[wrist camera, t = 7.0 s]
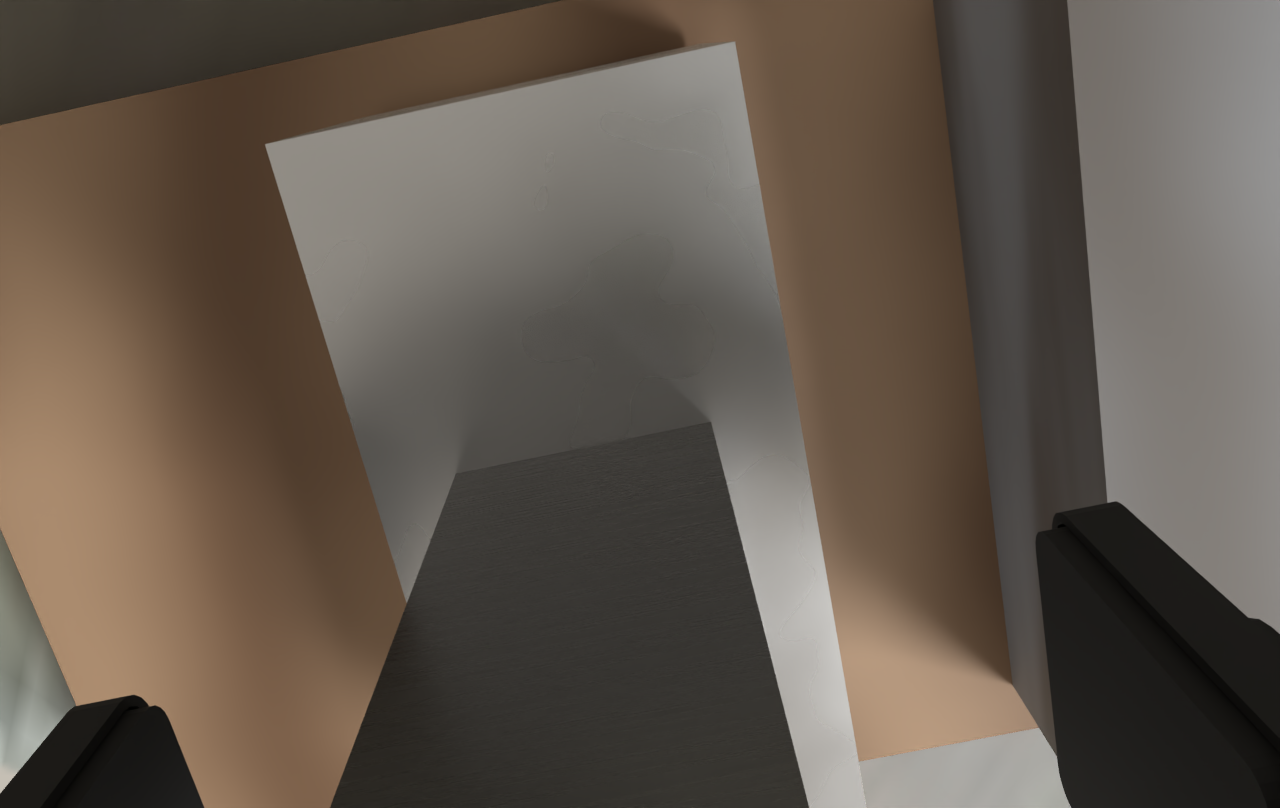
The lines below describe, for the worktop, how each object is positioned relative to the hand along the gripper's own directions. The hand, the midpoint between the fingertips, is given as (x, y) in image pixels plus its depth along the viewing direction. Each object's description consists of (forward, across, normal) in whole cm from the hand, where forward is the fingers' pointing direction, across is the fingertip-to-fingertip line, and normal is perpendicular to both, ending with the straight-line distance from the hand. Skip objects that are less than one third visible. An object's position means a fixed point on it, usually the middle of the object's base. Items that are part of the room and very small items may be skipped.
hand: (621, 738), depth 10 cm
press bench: (+10, -2, 0) cm, 10 cm away
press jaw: (+8, 0, +1) cm, 8 cm away
